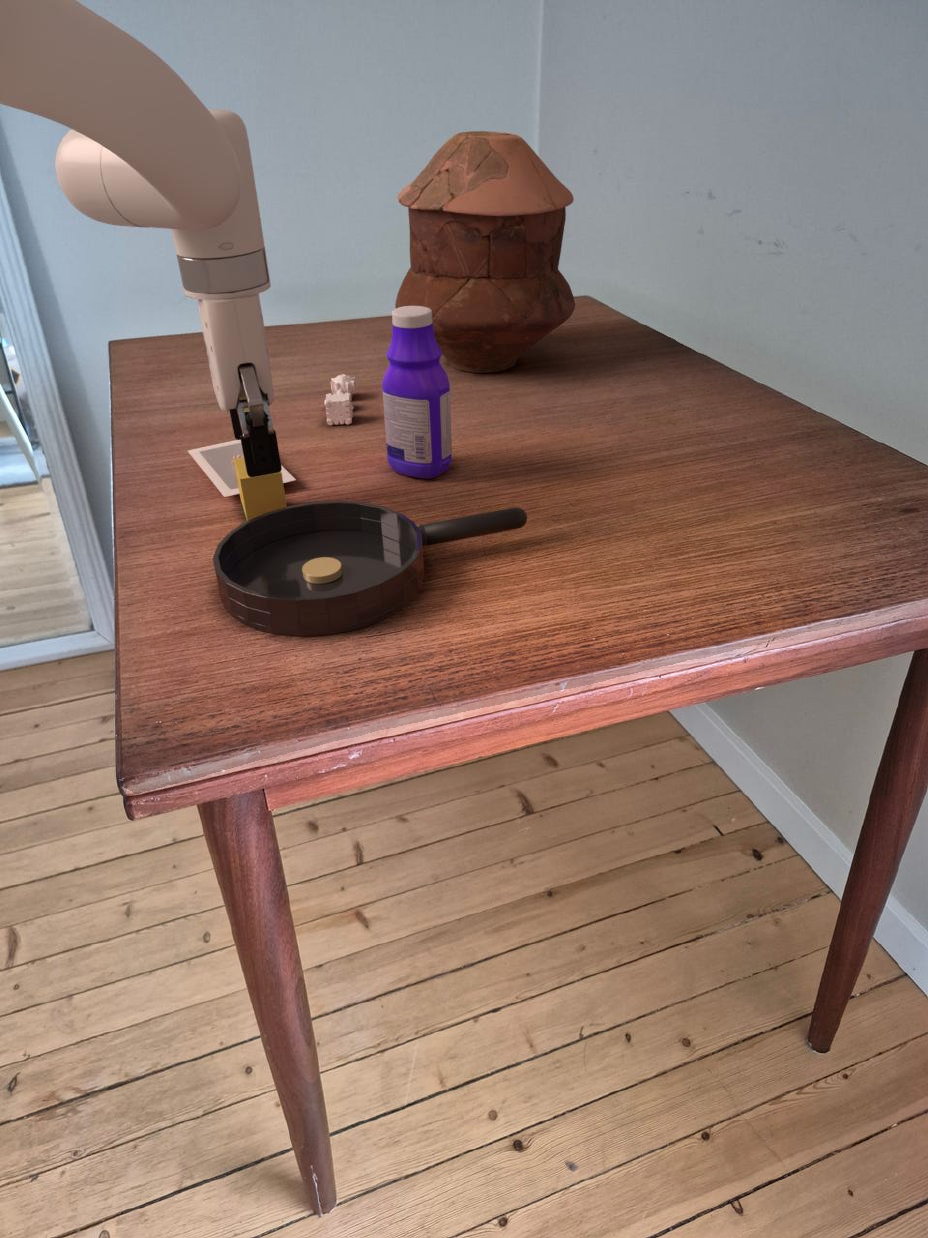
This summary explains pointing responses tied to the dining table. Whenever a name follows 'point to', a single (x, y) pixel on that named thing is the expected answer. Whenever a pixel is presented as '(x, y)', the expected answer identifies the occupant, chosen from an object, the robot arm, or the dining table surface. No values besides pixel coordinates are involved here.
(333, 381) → the game pieces
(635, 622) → the dining table surface
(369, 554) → the pan
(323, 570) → the disc
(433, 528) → the pan handle
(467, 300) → the pottery vessel
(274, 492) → the sponge
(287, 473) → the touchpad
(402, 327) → the bottle
